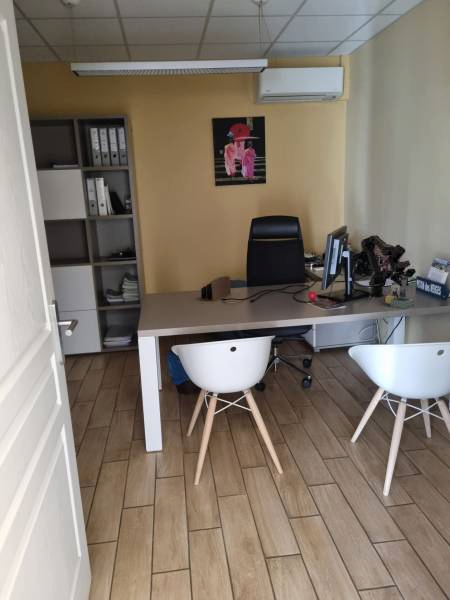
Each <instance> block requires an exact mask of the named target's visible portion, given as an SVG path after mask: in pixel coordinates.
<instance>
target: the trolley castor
mask: <svg viewBox="0 0 450 600" xmlns="http://www.w3.org/2000/svg"><path fill="white" fill-rule="evenodd" d="M390 288H391V294H390V296H395V297H397V298H398V297H399V290H400V286H399V285H398V284H396V285H392V284H391V285H390ZM395 288H398V289H397V291H396V289H395Z"/></svg>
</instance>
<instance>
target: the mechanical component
mask: <svg viewBox="0 0 450 600" xmlns="http://www.w3.org/2000/svg"><path fill="white" fill-rule="evenodd" d="M392 285H398V284H397V283H395V282H394V281H392V282H391V286H392ZM409 286H410V282H408V286H406V290H407V289H409ZM395 290H398V288H395Z"/></svg>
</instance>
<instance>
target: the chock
mask: <svg viewBox="0 0 450 600" xmlns="http://www.w3.org/2000/svg"><path fill="white" fill-rule="evenodd" d="M395 298H397V297H395V296H391V294H390V295H385V304H390V305H391V299H395Z"/></svg>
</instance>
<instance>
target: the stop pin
mask: <svg viewBox="0 0 450 600" xmlns="http://www.w3.org/2000/svg"><path fill="white" fill-rule="evenodd" d="M407 278H408V279H409V277H408V276H402V275H399V279H400V281H401V284H402V286H400V290H399V297H402V298H407V297H406V295H407V289H406V287H407V286H406V285H407Z"/></svg>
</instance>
